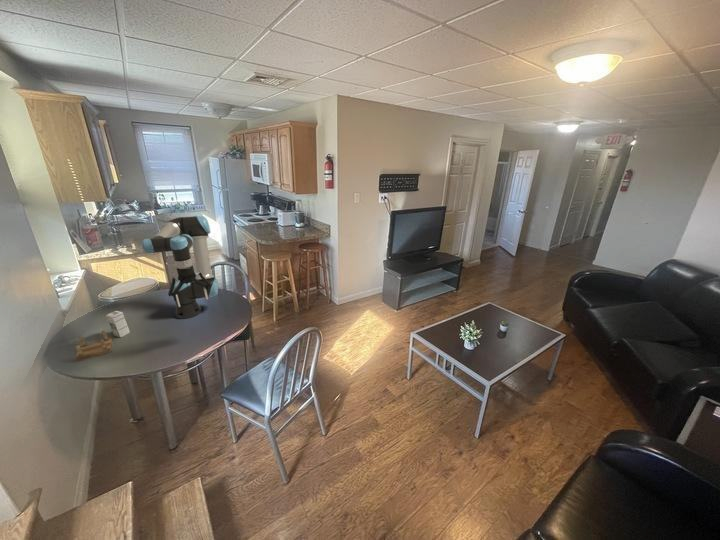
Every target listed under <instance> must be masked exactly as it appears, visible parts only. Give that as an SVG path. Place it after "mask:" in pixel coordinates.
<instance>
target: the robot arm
mask: <svg viewBox="0 0 720 540" xmlns="http://www.w3.org/2000/svg"><path fill="white" fill-rule="evenodd" d="M209 234H211V228H210V224H209V221H208V219H207V218H206V217H205V216H203V215H202V216H201V215H195V216H179V217H178V216H177V217H176V218H172V219H170V220H167V221H166V222H165V223H164V224H163V225H162V226H161V229H160V231H158V232H157V233H156V234H155V235H154V236H153V237H152V238H151V237H150V238H145V239H143V240H142V241H141V242H142V243H141V244H142V245H141V246H142V249H143V251H144V253H145V254H156V253H166V252H168V253H170V252H171V253H172V256H173V259H174V260H173V261H174V264H175V268H176V272H177V275H178V276H177V277H176V276H172V277H171V284H170V287H169V290H168V293H167V294H168V296H169V297H173V301H174V302H175V304H176V306H175V317H176V318H178V319H181V320H183V319H184V320H186V319H191V318H194V317H196V316H198V315H199V314H201V313H202V307H201V306H200V304H199V303H198V301H197V299H203V298H205V299H206V300H209V298H211V297H215V296H217V295H218V292H219V281H218V279H217V278H215V275H213V274H212V268H211V261H210V255H209V248H208V240H207V238H209ZM190 249H192V251H193V257H194V264H195V268H194V265H193V261H192V257H191V251H190ZM195 270H196V272H195Z"/></svg>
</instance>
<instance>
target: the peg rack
mask: <svg viewBox="0 0 720 540" xmlns="http://www.w3.org/2000/svg"><path fill="white" fill-rule="evenodd" d="M101 335H102V338H101V339H99V340H98V341H94V342H91V343H87V344H86V342H85V339H84V337H83V335H80V336H78V341H79V342H80V345H79V344H78V345H75V346H74V347H75V349H76V354H75V361H76V362H80V361H83V360H86V359H90V358H93V357H94V358H95V357H98V356H101V355H104V354H107V353H110V352H112V348H113V343H114V342H113V341H114V340H113V337H110V338H109V337H108V334H107V332H106V330H104V329H103V330H101Z"/></svg>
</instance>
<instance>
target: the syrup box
mask: <svg viewBox="0 0 720 540" xmlns="http://www.w3.org/2000/svg"><path fill="white" fill-rule="evenodd" d="M105 316H106V319H107V322H108V324H109V325H110V329H111V332H112V334H113V336H114V337H118V338H122V337H124V336H127V335H129V334H130V328H129V326H128V324H127V321H126V319H125V318H126V317H125V316H124V312H123V311H118V310H114V311H111V312H109V313H108V314H106V315H105Z"/></svg>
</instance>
